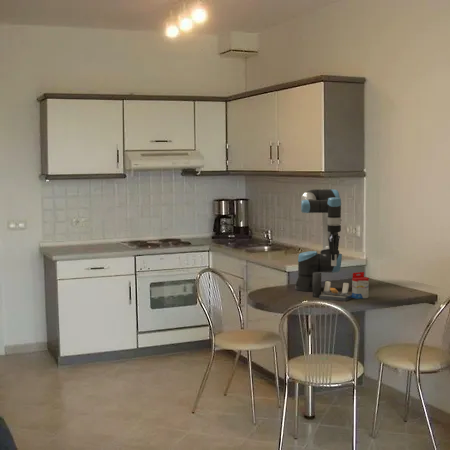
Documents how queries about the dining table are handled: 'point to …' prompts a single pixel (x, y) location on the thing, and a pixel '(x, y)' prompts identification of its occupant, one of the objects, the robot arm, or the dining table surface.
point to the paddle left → (327, 287)
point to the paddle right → (345, 289)
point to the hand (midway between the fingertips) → (333, 265)
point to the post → (316, 284)
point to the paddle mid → (334, 291)
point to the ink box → (360, 286)
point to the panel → (335, 296)
